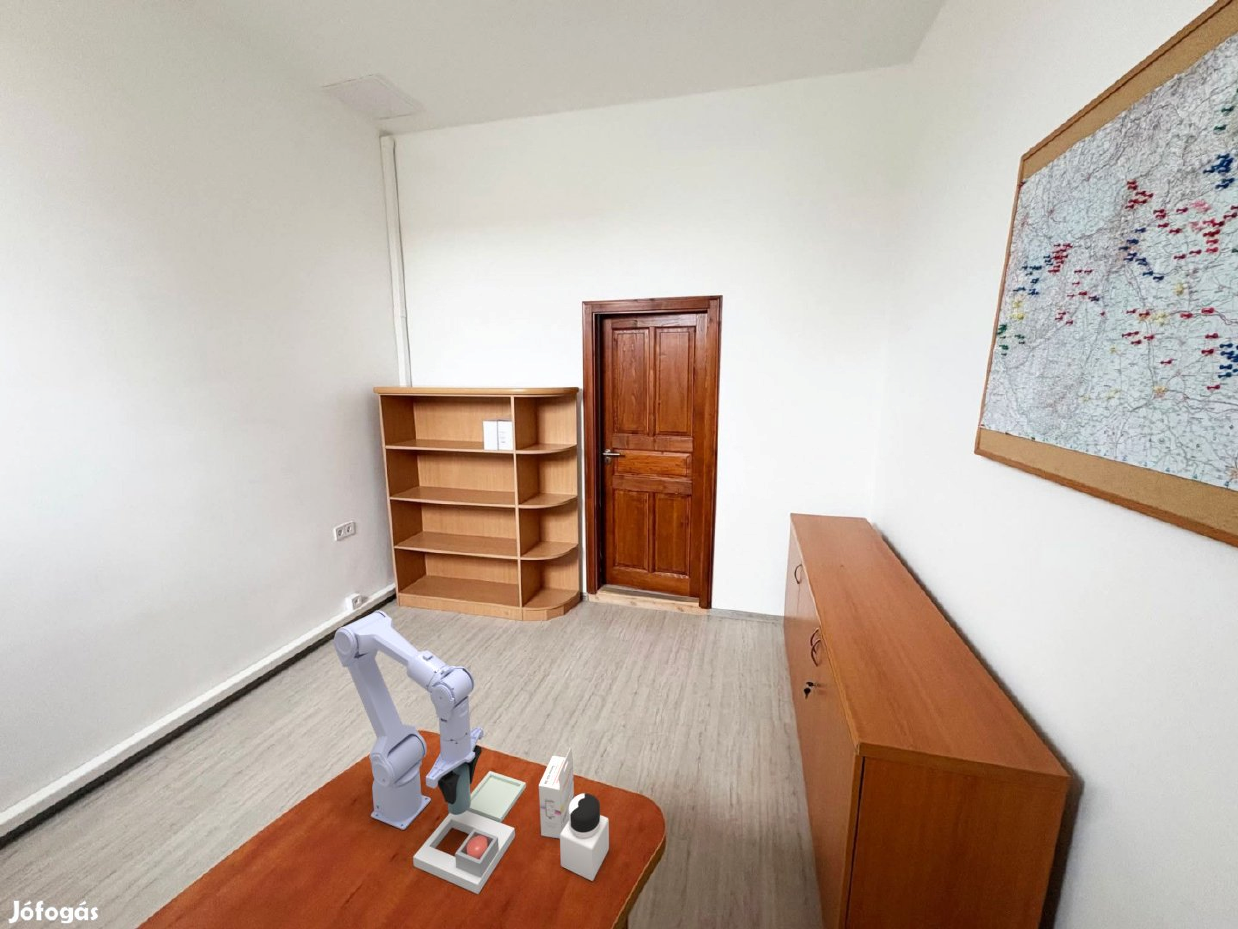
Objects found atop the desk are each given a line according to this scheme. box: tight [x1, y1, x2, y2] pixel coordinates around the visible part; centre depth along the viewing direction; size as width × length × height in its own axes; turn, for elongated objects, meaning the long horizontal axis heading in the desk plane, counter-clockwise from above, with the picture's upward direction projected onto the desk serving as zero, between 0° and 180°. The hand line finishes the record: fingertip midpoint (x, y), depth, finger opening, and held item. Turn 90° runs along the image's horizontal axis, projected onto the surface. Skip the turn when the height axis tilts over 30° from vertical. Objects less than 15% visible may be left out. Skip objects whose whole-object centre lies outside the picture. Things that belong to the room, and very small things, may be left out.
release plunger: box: [467, 836, 488, 859], centre depth 89 cm, size 4×4×3 cm
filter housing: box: [412, 811, 516, 895], centre depth 92 cm, size 15×12×5 cm
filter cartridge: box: [447, 762, 471, 815], centre depth 94 cm, size 4×4×8 cm
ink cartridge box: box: [538, 746, 575, 840], centre depth 98 cm, size 9×5×15 cm, turn 168°
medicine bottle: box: [559, 792, 610, 882], centre depth 90 cm, size 7×7×12 cm
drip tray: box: [467, 770, 527, 824], centre depth 105 cm, size 10×10×1 cm
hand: (458, 792), depth 94 cm, fingers closed on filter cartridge, 4 cm apart
